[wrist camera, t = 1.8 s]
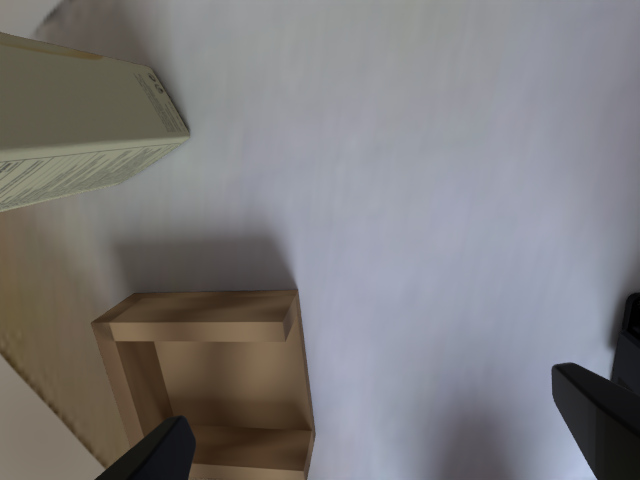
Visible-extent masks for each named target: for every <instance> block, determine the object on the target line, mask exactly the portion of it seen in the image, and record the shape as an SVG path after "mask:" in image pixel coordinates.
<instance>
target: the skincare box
mask: <svg viewBox="0 0 640 480" xmlns="http://www.w3.org/2000/svg"><path fill="white" fill-rule="evenodd" d="M189 138H190V134H189V132H188V130H187V129H186V127H185V125H184V123H183V121H182V119H181V118H180V116H179V114H178V112H177V111H176V109H175V107H174V105H173V104H172V102H171V100H170V98H169V97H168V95H167V93H166V91H165V90H164V88H163V87H162V85H161V83H160V82H159V80H158V79H157V77H156V76H155V74H154V72H153V71H152V69H151V68H150V67H147V66H143V65H138V64H134V63H130V62H126V61H122V60H117V59H113V58H109V57H105V56H100V55H95V54H91V53H87V52H82V51H78V50H74V49H70V48H66V47H61V46H57V45H53V44H49V43H45V42H40V41H36V40H31V39H27V38H22V37H18V36H14V35H10V34H6V33H2V32H0V212H2V211H6V210H10V209H15V208H19V207H23V206H27V205H32V204H36V203H40V202H44V201H48V200H53V199H57V198H61V197H66V196H70V195H74V194H78V193H83V192H87V191H91V190H95V189H100V188H104V187H109V186H113V185H117V184H120V183H122V182H123V181H125V180H127V179H128V178H130V177H132V176H133V175H135V174H137V173H138V172H140V171H142V170H143V169H145V168H146V167H148V166H149V165H151V164H152V163H154V162H155V161H157V160H159V159H160V158H162V157H163V156H165V155H166V154H168V153H169V152H170V151H172V150H173V149H175V148H176V147H178V146H179V145H180V144H182V143H183V142H185V141H186V140H188V139H189Z"/></svg>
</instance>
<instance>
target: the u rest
mask: <svg viewBox="0 0 640 480" xmlns="http://www.w3.org/2000/svg"><path fill="white" fill-rule="evenodd" d="M91 325H92V328H93V331H94V334H95V337H96V340H97V344H98V347H99V350H100V353H101V356H102V359H103V362H104V365H105V369H106V372H107V375H108V378H109V381H110V384H111V387H112V390H113V394H114V397H115V400H116V403H117V406H118V409H119V412H120V415H121V418H122V422H123V425H124V428H125V431H126V434H127V437H128V440H129V443H130V447H131V448H132V447H133V446H135V445H136V444H137V443H138V442H139V441H141V440H142V439H143V438H144V437H145V436H146V435H148V434H149V433H150V432H151V431H152V430H154V429H155V428H156V427H157V426H158V425H159V424H161V423H162V422H163V421H164V420H165V419H167V418H168V417H171V416H179V415H183V416H185V417H186V418H187V420H188V422H189V425H190V427H191V429H192V431H193V434H194V436H195V439H196V449H195V454H194V458H193V462H192V466H191V470H190V474H189V477H193V478H206V479H219V480H307V477H308V472H309V467H310V461H311V456H312V451H313V446H314V441H315V436H316V434H315V426H314V417H313V409H312V401H311V393H310V385H309V376H308V368H307V360H306V352H305V344H304V336H303V327H302V319H301V311H300V303H299V295H298V290H272V291H224V292H176V293H134V294H132V295H131V296H129V297H128V298H126V299H125V300H123V301H122V302H121V303H119V304H118V305H116V306H115V307H113V308H112V309H110V310H109V311H107V312H106V313H104V314H103V315H102V316H100V317H99V318H97V319H96V320H94V321H93V322H91Z"/></svg>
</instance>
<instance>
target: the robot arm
mask: <svg viewBox="0 0 640 480" xmlns="http://www.w3.org/2000/svg"><path fill="white" fill-rule="evenodd" d="M639 301H640V292H638V293H634V294H632V295H630V296H629V297H628V299H627V303H626V308H625V314H624V319H623V325H622V330H621V332H620V334H619V339H618V345H617V350H616V356H615V362H614V367H613V370H614V375H613V380H612V381H610V380H608V379H606V378H604V377H602V376H600V375H598V374H596V373H594V372H591V371H589V370H587V369H585V368H583V367H581V366H579V365H577V364H575V363H562V364H555V365H553V366H552V395H553V399H554V402H555V404H556V406H557V408H558V410H559V412H560V413H561V415H562V417H563V419H564V421H565V422H566V424H567V426H568V428H569V430H570V432H571V433H572V435H573V437H574V439H575V441H576V443H577V444H578V446H579V448H580V450H581V452H582V454H583V455H584V457H585V459H586V461H587V463H588V465H589V466H590V468H591V470H592V472H593V473H594V475H595V477H596V478H597V480H640V305H637V304H638V302H639ZM195 449H196V439H195V436H194V434H193V431H192V429H191V427H190V425H189V422H188V420H187V418H186V417H185V416H183V415H179V416H171V417H168V418H167V419H165V420H164V421H163V422H162V423H161V424H159V425H158V426H157V427H156V428H155V429H154V430H152V431H151V432H150V433H149V434H148V435H146V436H145V437H144V438H143V439H142V440H141V441H139V442H138V443H137V444H136V445H135V446H133V447H132V448H131V449H130V450H129V451H128V452H126V453H125V454H124V455H123V456H122V457H121V458H119V459H118V460H117V461H116V462H115V463H113V464H112V465H111V466H110V467H109V468H108V469H106V470H105V471H104V472H103V473H102V474H101V475H100V476H98V477H97V478H96V479H95V480H188V478H189V474H190V470H191V466H192V462H193V458H194V454H195Z"/></svg>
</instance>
